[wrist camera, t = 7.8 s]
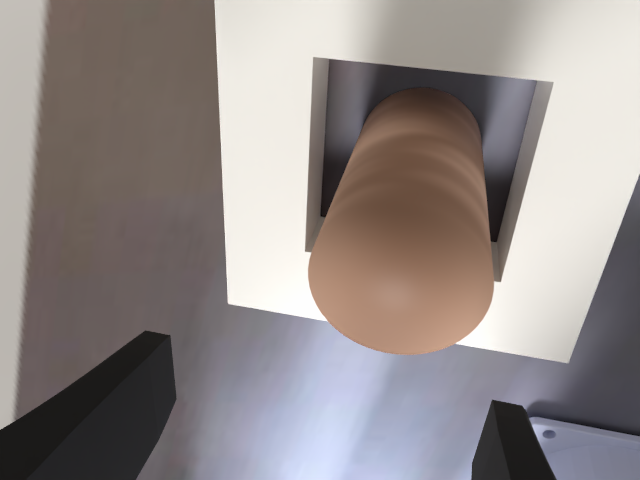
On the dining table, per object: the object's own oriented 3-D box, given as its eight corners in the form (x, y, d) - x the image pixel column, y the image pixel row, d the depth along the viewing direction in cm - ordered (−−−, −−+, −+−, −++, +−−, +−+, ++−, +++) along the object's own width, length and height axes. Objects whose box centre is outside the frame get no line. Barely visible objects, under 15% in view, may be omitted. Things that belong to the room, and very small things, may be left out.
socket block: (680, -39, 15) (715, -28, 13) (557, 317, 21) (568, 363, 19) (242, -70, 17) (211, -65, 15) (249, 266, 23) (228, 303, 21)
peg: (494, 96, 18) (515, 219, 11) (467, 208, 20) (471, 369, 13) (367, 80, 18) (313, 187, 12) (354, 191, 20) (303, 336, 14)
